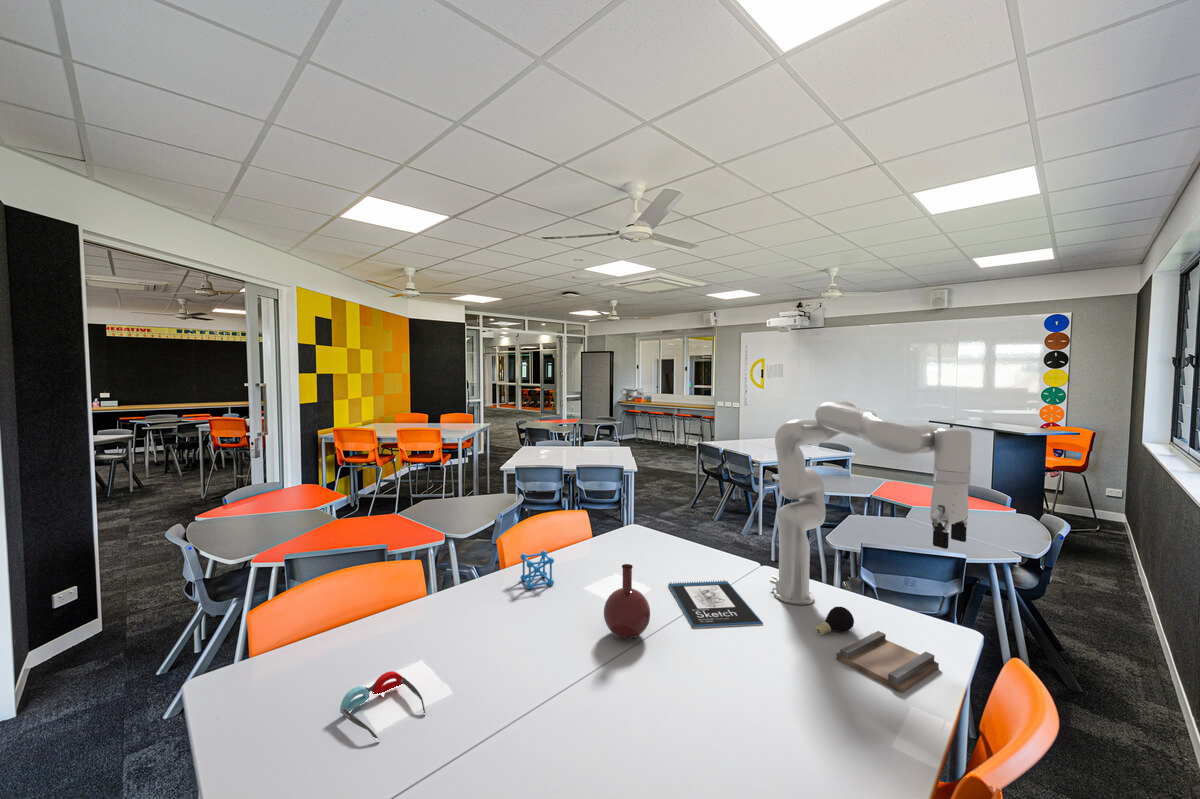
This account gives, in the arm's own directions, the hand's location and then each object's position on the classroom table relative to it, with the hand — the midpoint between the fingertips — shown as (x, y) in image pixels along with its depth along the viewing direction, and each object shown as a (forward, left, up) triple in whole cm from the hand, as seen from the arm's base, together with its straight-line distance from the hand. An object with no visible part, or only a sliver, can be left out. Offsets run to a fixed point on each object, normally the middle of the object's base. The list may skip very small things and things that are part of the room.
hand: (949, 543), depth 122 cm
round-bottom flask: (-54, -62, -31) cm, 88 cm away
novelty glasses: (-55, -125, -32) cm, 140 cm away
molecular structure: (-100, -69, -32) cm, 125 cm away
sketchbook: (-56, -27, -32) cm, 70 cm away
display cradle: (-8, -13, -31) cm, 35 cm away
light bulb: (-25, -9, -32) cm, 41 cm away
